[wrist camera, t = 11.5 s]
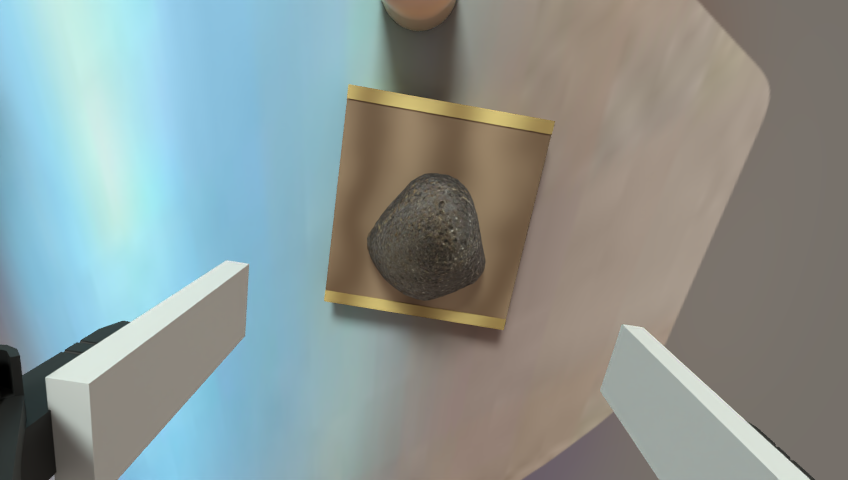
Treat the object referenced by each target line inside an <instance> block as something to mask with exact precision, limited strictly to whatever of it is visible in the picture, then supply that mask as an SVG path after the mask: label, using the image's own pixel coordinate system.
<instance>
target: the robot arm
mask: <svg viewBox="0 0 848 480" xmlns="http://www.w3.org/2000/svg"><path fill="white" fill-rule="evenodd" d="M248 273H249V264H246V263H239V262H233V261H227V260H226V261H225V262H223V263H222V264H220V265H218V266H217V267H215V268H214V269H212V270H211V271H209V272H208V273H206V274H205V275H203V276H201V277H200V278H198V279H197V280H195V281H194V282H192V283H191V284H189V285H188V286H186V287H184V288H183V289H181V290H180V291H178V292H177V293H175V294H174V295H172V296H170V297H169V298H167V299H166V300H164V301H163V302H161V303H160V304H158V305H157V306H155V307H153V308H152V309H150V310H149V311H147V312H146V313H144V314H143V315H141V316H139V317H138V318H136V319H135V320H133V321H132V322H128V321H121V322H118V323H115V324H112V325H109V326H106V327H104V328H101V329H98V330H97V331H95V332H93V333H92V334H90V335H88V336H87V337H85V338H84V339H82V340H81V341H80V343H75V344H74V345H72V346H70V347H69V348H67V349H65V352H60V353H59V354H57V355H55V356H54V357H52V358H50V359H49V360H47V361H45V362H44V363H42V364H41V365H39V366H37V367H36V368H34V369H32V370H31V371H29V372H27V373H26V374H24V375H22V371H21V362H20V355H19V353H18V350H17V349H15V348H13V347H10V346H8V345H0V480H49V479H50V478H51V477H52V476H53V475H55V480H118V478H119V477H120V476H121V475H122V474H123V473H124V472H125V471H126V469H127V468H128V467H129V466H130V465H131V464H132V463H133V462H134V460H135V459H136V458H137V457H138V456H139V455H140V454H141V453H142V451H143V450H144V449H145V448H146V447H147V446H148V445H149V444H150V442H151V441H152V440H153V439H154V438H155V437H156V436H157V435H158V433H159V432H160V431H161V430H162V429H163V428H164V427H165V425H166V424H167V423H168V422H169V421H170V420H171V419H172V418H173V416H174V415H175V414H176V413H177V412H178V411H179V410H180V409H181V407H182V406H183V405H184V404H185V403H186V402H187V401H188V400H189V398H190V397H191V396H192V395H193V394H194V393H195V392H196V391H197V389H198V388H199V387H200V386H201V385H202V384H203V383H204V382H205V380H206V379H207V378H208V377H209V376H210V375H211V374H212V373H213V371H214V370H215V369H216V368H217V367H218V366H219V365H220V364H221V362H222V361H223V360H224V359H225V358H226V357H227V356H228V355H229V353H230V352H231V351H232V350H233V349H234V348H235V347H236V345H237V344H238V343H239V342H240V341H241V340H242V339H243V338H244V336H245V327H246V309H247V291H248ZM600 391H601V393H602V394H603V396H604V397H605V399H606V400H607V402H608V403H609V405H610V406H611V408H612V410H613V411H614V413H615V414H616V416H617V417H618V419H619V420H620V421H621V423H622V425H623V426H624V427H625V429H626V430H627V432H628V434H629V435H630V436H631V438H632V439H633V441H634V443H635V444H636V446H637V447H638V449H639V450H640V452H641V453H642V455H643V456H644V457H645V459H646V461H647V462H648V463H649V465H650V467H651V468H652V470H653V471H654V473H655V474H656V476H657V477H658V479H659V480H815V479H814V478H813V477H811V476H810V475H809V474H808V473H807V472H806V471H805V470H804V469H803V468H802V467H800V466H799V465H798V464H797V463H796V462H795V461H792V460H790V457H789V456H788V455H787V454H786V453H785V452H784V451H783V450H781V449H780V448H779V447H776V446H775V443H774V442H773V441H772V440H770V439H769V438H768V437H767V436H766V435H765V434H764V433H763V432H761V431H760V430H759V429H758V428H757V427H755V426H754V425H752V424H750V423H749V422H748V421H746V420H745V419H743V418H742V417H741V416H740V415H739V414H738V413H736V412H735V411H734V410H733V409H732V408H731V407H730V406H729V405H728V404H726V402H724V401H723V400H722V399H721V398H720V397H719V396H718V395H717V394H716V393H715V392H713V391H712V390H711V389H710V388H709V387H708V386H707V385H706V384H705V383H704V382H702V381H701V380H700V379H699V378H698V377H697V376H696V375H695V374H694V373H693V372H691V371H690V370H689V369H688V368H687V367H686V366H685V365H684V364H683V363H681V362H680V361H679V360H678V359H677V358H676V357H675V356H674V355H673V354H672V353H671V352H669V351H668V350H667V349H666V348H665V347H664V346H663V345H662V344H661V343H660V342H658V341H657V340H656V339H655V338H654V337H653V336H652V335H651V334H650V333H649V332H648V331H646V330H645V329H644V328H643V327H637V326H630V325H624V324H622V326H621V329H620V332H619V335H618V338H617V341H616V344H615V347H614V350H613V353H612V356H611V359H610V362H609V365H608V368H607V371H606V374H605V377H604V380H603V383H602V386H601V389H600Z"/></svg>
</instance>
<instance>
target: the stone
mask: <svg viewBox="0 0 848 480" xmlns="http://www.w3.org/2000/svg"><path fill="white" fill-rule="evenodd" d="M367 249H368V252H369V254H370V257H371V260H372V261H373V263H374V265H375V267H376V268H377V270H378V271H379V273H380V274H381V275H382V277H383V278H384V279H385V280H386V281H387V282H388V283H389V284H390V285H392V286H393V287H394V288H396V289H397V290H398V291H400V292H401V293H403V294H404V295H406V296H409V297H412V298H415V299H418V300H423V301H428V300H432V299H435V298H439V297H443V296H445V295H448V294H451V293H453V292H456V291H458V290H459V289H462V288H465V287H466V286H468V285H471V284H474V283H475V282H476V281H477V280H478V278H479V277H480V276H481V274H482V273H483V272H484V268H485V262H486V260H485V255H484V250H483V245H482V239H481V233H480V227H479V221H478V216H477V212H476V209H475V206H474V202H473V199H472V197H471V195H470V193H469V191H468V190H467V188H466V187H465V186H464V185H463V184H462V183H461V182H460V181H459V180H458V179H456V178H453V177H452V176H450V175H446V174H439V173H427V174H423V175H421V176H419V177H417V178H416V179H414V180H412V181H411V182H410V183H409V184H408V185H407V186H406V188H405V189H404V190H403V191H402V192H401V193H400V194H399V195H398V196H397V197H396V198H395V199H394V200H393V201H392V202H391V204H390V205H389V206H388V207H387V208H386V210H385V211H384V212H383V213H382V215H381V216H380V218H379V219H378V221H377V222H376V223H375V225H374V227H373V228H372V230H371V231H370V232H369V234H368V237H367Z"/></svg>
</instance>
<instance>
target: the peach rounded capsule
mask: <svg viewBox="0 0 848 480" xmlns="http://www.w3.org/2000/svg"><path fill="white" fill-rule="evenodd" d="M382 2H383V5H384V7H385V9H386V11H387V13H388V14H389V16H390V17H391V18H392V19H393V20H394V21H395V22H396V23H397V24H398V25H400V26H402V27H403V28H406V29H408V30H412V31H426V30H430V29H433V28H435V27H437V26H438V25H440V24H441V23H442V22H443V21H444V20H445V19H446V18H447V17H448V16H449V15H450V13H451V12H452V10H453V8H454V5H455V3H456V0H382Z"/></svg>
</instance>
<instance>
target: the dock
mask: <svg viewBox="0 0 848 480" xmlns="http://www.w3.org/2000/svg"><path fill="white" fill-rule="evenodd" d="M554 123H555V121H551V120H545V119H539V118H534V117H528V116H523V115H517V114H511V113H506V112H500V111H495V110H489V109H484V108H478V107H472V106H467V105H461V104H456V103H450V102H445V101H439V100H433V99H428V98H422V97H417V96H411V95H406V94H400V93H394V92H389V91H383V90H378V89H372V88H366V87H361V86H355V85H350V84H349V85H348V94H347V106H346V114H345V123H344V132H343V141H342V150H341V159H340V168H339V176H338V185H337V194H336V203H335V212H334V221H333V230H332V239H331V247H330V256H329V265H328V274H327V283H326V290H325V298H324V301H327V302H333V303H339V304H346V305H352V306H358V307H364V308H370V309H376V310H383V311H389V312H395V313H401V314H407V315H413V316H420V317H426V318H432V319H438V320H444V321H451V322H457V323H463V324H469V325H475V326H481V327H488V328H494V329H500V330H504V326H505V322H506V316H507V312H508V308H509V304H510V300H511V296H512V292H513V288H514V284H515V280H516V276H517V272H518V268H519V264H520V260H521V255H522V251H523V247H524V243H525V239H526V235H527V231H528V227H529V223H530V219H531V215H532V211H533V207H534V203H535V199H536V195H537V191H538V186H539V182H540V178H541V174H542V170H543V166H544V162H545V158H546V154H547V150H548V146H549V142H550V138H551V135H552V131H553V127H554ZM427 173H439V174H446V175H450V176H452V177H453V178H456V179H458V180H459V181H460V182H461V183H462V184H463V185H464V186H465V187H466V188H467V190H468V191H469V193H470V195H471V197H472V199H473V202H474V206H475V209H476V212H477V216H478V221H479V227H480V233H481V239H482V245H483V250H484V255H485V260H486V262H485V268H484V272H483V273H482V274H481V276H480V277H479V278H478V280H477V281H476V282H475V283H474V284H471V285H468V286H466V287H465V288H462V289H459V290H458V291H456V292H453V293H451V294H448V295H445V296H443V297H439V298H435V299H432V300H428V301H423V300H418V299H415V298H412V297H409V296H406V295H404V294H403V293H401V292H400V291H398V290H397V289H396V288H394V287H393V286H392V285H390V284H389V283H388V282H387V281H386V280H385V279H384V278H383V277H382V275H381V274H380V273H379V271H378V270H377V268H376V267H375V265H374V263H373V261H372V260H371V257H370V254H369V252H368V249H367V237H368V234H369V232H370V231H371V230H372V228H373V227H374V225H375V223H376V222H377V221H378V219H379V218H380V216H381V215H382V213H383V212H384V211H385V210H386V208H387V207H388V206H389V205H390V204H391V202H392V201H393V200H394V199H395V198H396V197H397V196H398V195H399V194H400V193H401V192H402V191H403V190H404V189H405V188H406V186H407V185H408V184H409V183H410V182H411V181H412V180H414V179H416V178H417V177H419V176H421V175H423V174H427Z"/></svg>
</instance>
